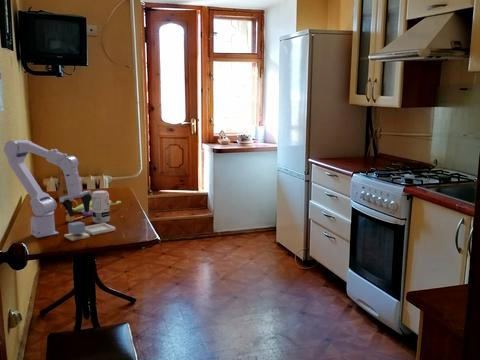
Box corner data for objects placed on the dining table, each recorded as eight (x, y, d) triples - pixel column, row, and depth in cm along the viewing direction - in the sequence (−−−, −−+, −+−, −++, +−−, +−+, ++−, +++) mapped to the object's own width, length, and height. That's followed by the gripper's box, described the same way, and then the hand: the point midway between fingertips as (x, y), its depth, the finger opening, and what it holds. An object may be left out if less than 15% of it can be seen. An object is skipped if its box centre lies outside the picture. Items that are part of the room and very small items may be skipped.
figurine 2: (124, 209, 252) (124, 199, 251) (78, 218, 234) (78, 207, 233) (108, 204, 265) (107, 195, 264) (63, 212, 246) (62, 202, 246)
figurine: (61, 223, 222) (59, 199, 220) (62, 220, 228) (60, 196, 226) (79, 222, 225) (77, 198, 223) (79, 219, 230) (78, 195, 228)
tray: (92, 235, 202) (92, 231, 202) (81, 230, 210) (81, 227, 210) (115, 230, 210) (115, 227, 210) (104, 225, 218) (103, 222, 217)
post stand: (72, 240, 194) (71, 229, 194) (64, 236, 200) (63, 225, 199) (89, 237, 200) (89, 225, 199) (82, 233, 206) (81, 222, 205)
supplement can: (92, 220, 228) (90, 190, 226) (109, 218, 231) (108, 189, 228) (93, 224, 221) (91, 193, 218) (110, 222, 223) (109, 192, 221)
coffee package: (57, 197, 284) (54, 162, 280) (78, 195, 289) (76, 161, 285) (58, 200, 275) (56, 164, 271) (80, 198, 280) (78, 162, 277)
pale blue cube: (73, 234, 196) (73, 225, 195) (68, 232, 200) (67, 223, 200) (85, 232, 200) (84, 223, 199) (79, 229, 204) (79, 221, 203)
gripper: (62, 187, 190) (69, 218, 192) (92, 180, 201) (98, 210, 203) (54, 187, 194) (60, 218, 196) (84, 180, 205) (89, 210, 207)
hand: (79, 214), depth 200 cm, fingers open, 7 cm apart
